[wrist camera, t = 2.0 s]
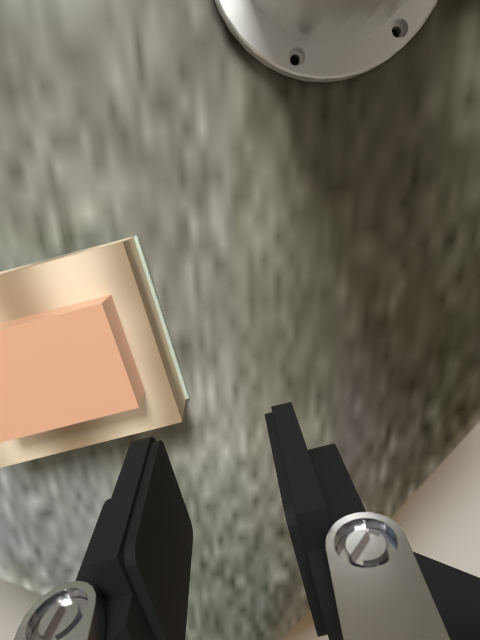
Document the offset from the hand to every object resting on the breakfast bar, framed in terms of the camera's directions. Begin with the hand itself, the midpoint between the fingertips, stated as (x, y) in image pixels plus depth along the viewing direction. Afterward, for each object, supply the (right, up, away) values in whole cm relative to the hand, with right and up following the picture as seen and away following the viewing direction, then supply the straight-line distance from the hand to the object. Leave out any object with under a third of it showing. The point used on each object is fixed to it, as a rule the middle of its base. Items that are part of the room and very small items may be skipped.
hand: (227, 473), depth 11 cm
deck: (-10, +2, +17) cm, 20 cm away
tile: (-10, +2, +14) cm, 17 cm away
